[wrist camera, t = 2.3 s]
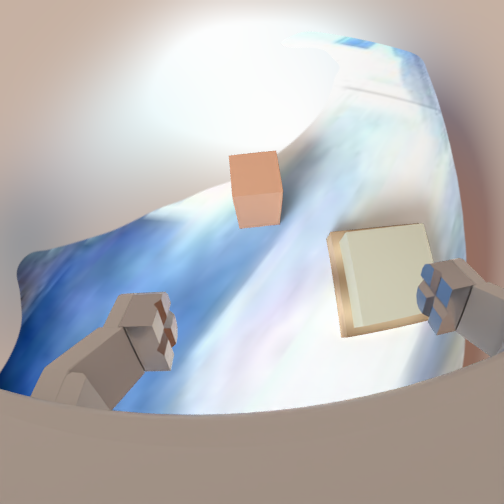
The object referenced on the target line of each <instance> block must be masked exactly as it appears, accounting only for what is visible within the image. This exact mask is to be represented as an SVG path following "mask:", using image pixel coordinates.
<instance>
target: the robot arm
mask: <svg viewBox="0 0 504 504" xmlns="http://www.w3.org/2000/svg"><path fill="white" fill-rule="evenodd" d="M421 277H422V279H423V281H422V282H421V283H420V285H419V286H418V289H417V294H416V298H417V305H418V308H419V310H420V311H421V313H422V314H424V315H426V316H428V317H429V318H428V323H429V325H430V326H431V328H432V329H433V331H434V332H435V334H436V335H440V334H444V333H448V332H452V331H456V332H457V333H458V334H460V335H461V336H463V337H464V338H465V339H467V340H468V341H470V342H471V343H473V344H474V345H475V346H477V347H478V348H480V349H481V350H482V351H484V352H485V353H486V354H488V355H489V356H491V357H489V358H487V359H484V360H482V361H479V362H477V363H474V364H472V365H469V366H466V367H464V368H461V369H458V370H456V371H453V372H450V373H447V374H444V375H441V376H438V377H435V378H432V379H429V380H425V381H422V382H419V383H415V384H412V385H408V386H405V387H401V388H397V389H393V390H389V391H385V392H381V393H377V394H373V395H368V396H364V397H359V398H354V399H349V400H344V401H339V402H333V403H327V404H321V405H315V406H308V407H300V408H293V409H284V410H275V411H264V412H252V413H236V414H208V415H178V414H150V413H135V412H123V411H113V410H112V409H113V408H114V407H115V406H116V405H117V404H118V403H119V401H120V400H121V399H122V398H123V397H124V396H125V395H126V393H127V392H128V391H129V390H130V389H131V388H132V387H133V385H134V384H135V383H136V382H137V381H138V380H139V379H140V378H141V376H142V375H143V374H144V373H145V372H144V371H171V366H172V361H173V357H174V353H173V350H172V347H173V346H174V345H175V344H176V342H177V323H176V319H175V315H174V314H173V313H172V312H171V311H170V310H169V308H170V304H171V302H170V299H169V296H168V294H167V293H166V292H151V293H130V294H121V295H119V296H118V298H117V300H116V302H115V304H114V306H113V308H112V310H111V312H110V314H109V316H108V318H107V320H106V322H105V324H104V326H103V328H97V329H96V330H95V331H93V332H92V333H91V334H89V335H88V336H86V337H85V338H84V339H82V340H81V341H80V342H78V343H77V344H76V345H74V346H73V347H72V348H70V349H69V350H68V351H66V352H65V353H64V354H62V355H61V356H60V357H58V358H57V359H56V360H54V361H53V362H52V363H50V364H49V365H48V366H46V367H45V368H44V370H43V372H42V374H41V376H40V378H39V380H38V382H37V384H36V386H35V388H34V390H33V392H32V395H31V397H29V396H24V395H20V394H16V393H13V392H9V391H5V390H2V389H0V504H504V288H502V287H500V286H497V285H495V284H493V283H491V282H487V283H486V282H485V281H484V280H483V279H482V278H481V277H480V276H479V274H477V273H476V272H475V271H474V270H473V269H472V268H471V267H470V266H469V265H468V264H467V263H466V262H465V261H464V260H463V259H460V258H456V259H451V260H448V261H442V262H436V263H430V264H425V265H424V267H423V268H422V272H421Z"/></svg>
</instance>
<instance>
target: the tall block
mask: <svg viewBox="0 0 504 504" xmlns="http://www.w3.org/2000/svg"><path fill="white" fill-rule="evenodd" d="M229 162H230V174H231V186H232V197H233V202H234V206H235V210H236V215H237V219H238V223H239V228H240V229H242V228H251V227H260V226H269V225H278V224H280V216H281V207H282V198H283V188H282V182H281V176H280V170H279V164H278V159H277V153H276V151H268V152H258V153H249V154H240V155H231V156H229Z"/></svg>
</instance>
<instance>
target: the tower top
mask: <svg viewBox="0 0 504 504" xmlns="http://www.w3.org/2000/svg"><path fill="white" fill-rule="evenodd" d="M339 244H340V249H341V254H342V259H343V264H344V270H345V275H346V281H347V286H348V292H349V298H350V304H351V311H352V317H353V324H354V328H357V327H363V326H368V325H373V324H378V323H382V322H387V321H392V320H396V319H401V318H405V317H409V316H413V315H417V314H421V311H420V310H419V308H418V305H417V298H416V294H417V289H418V286H419V285H420V283H421V282H422V281H423V279H422V277H421V272H422V268H423V267H424V265H425V264H430V263H434V262H433V258H432V254H431V250H430V246H429V242H428V238H427V234H426V231H425V227H424V224H423V223H421V224H412V225H403V226H395V227H386V228H377V229H369V230H360V231H352V232H346V233H345V234H344V236H343V237H342V239H341V240H340V241H339Z"/></svg>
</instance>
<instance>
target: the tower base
mask: <svg viewBox="0 0 504 504" xmlns="http://www.w3.org/2000/svg"><path fill="white" fill-rule="evenodd" d="M416 224H419V223H416ZM406 225H412V224H406ZM395 226H403V225H395ZM395 226H385V227H375V228H365V229H355V230H345V231H336V232H330V234H329V236H328V237H327V239H326V240H327V245H328V251H329V257H330V263H331V269H332V275H333V281H334V288H335V295H336V301H337V309H338V316H339V323H340V331H341V338H344V337H352V336H357V335H363V334H368V333H373V332H378V331H383V330H388V329H393V328H397V327H402V326H406V325H411V324H415V323H419V322H423V321H427V320H428V318H429V317H428V316H426V315H424V314H422V313H421V314H417V315H413V316H409V317H405V318H401V319H396V320H392V321H387V322H382V323H378V324H373V325H368V326H363V327H357V328H354V324H353V317H352V311H351V304H350V298H349V292H348V286H347V281H346V275H345V270H344V264H343V259H342V254H341V249H340V244H339V241H340V240H341V239H342V237H343V236H344V234H345V233H346V232H352V231H360V230H369V229H377V228H386V227H395Z"/></svg>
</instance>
